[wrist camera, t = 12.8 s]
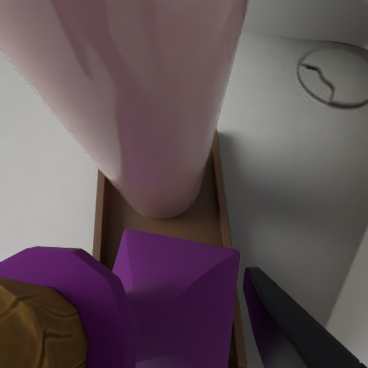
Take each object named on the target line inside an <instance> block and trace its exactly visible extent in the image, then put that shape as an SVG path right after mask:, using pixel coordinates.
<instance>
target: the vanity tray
mask: <svg viewBox="0 0 368 368" xmlns="http://www.w3.org/2000/svg"><path fill="white" fill-rule="evenodd" d="M126 229H134V230H139V231H144V232H149V233H154V234H159V235H164V236H170V237H175V238H180V239H185V240H190V241H195V242H200V243H205V244H210V245H215V246H220V247H225V248H230V249H232V243H231V236H230V228H229V220H228V213H227V205H226V197H225V190H224V182H223V174H222V167H221V159H220V151H219V144H218V136H217V128H216V131H215V135H214V139H213V143H212V147H211V151H210V154H209V158H208V162H207V166H206V170H205V174H204V178H203V181H202V185H201V189H200V193H199V195H198V197H197V199H196V201H195V202H194V203H193V205H192V206H191V207H190V208H189V209H188V210H186V211H185V212H183V213H182V214H180V215H178V216H175V217H172V218H168V219H153V218H149V217H146V216H143V215H141V214H140V213H138V212H136V211H135V210H134V209H133V208H132V207H131V206H130V205H129V204H128V203H127V201H126V200H125V199H124V198H123V197H122V195H121V194H120V193H119V192H118V191H117V190H116V188H115V187H114V186H113V185H112V184H111V182H110V181H109V180H108V179H107V178H106V177H105V175H104V174H103V173H102V172H101V171H100V169H99V168H98V181H97V196H96V211H95V226H94V241H93V256H92V257H94V258H95V259H96V260H98V261H99V262H100V263H101V264H103V265H104V266H105V267H106V268H108V269H109V270H110V271H113V267H114V264H115V260H116V257H117V253H118V250H119V246H120V243H121V239H122V236H123V232H124V231H125V230H126ZM228 368H247V359H246V351H245V343H244V336H243V328H242V320H241V313H240V305H239V297H238V289H237V287H236V296H235V306H234V315H233V324H232V333H231V342H230V351H229V360H228Z"/></svg>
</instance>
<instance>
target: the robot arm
mask: <svg viewBox="0 0 368 368" xmlns="http://www.w3.org/2000/svg"><path fill="white" fill-rule="evenodd" d="M243 290H244V295H245V299H246V304H247V308H248V312H249V317H250V321H251V326H252V330H253V334H254V338H255V341H256V345H257V348H258V351H259V354H260V357H261V360H262V363H263V366H264V368H367V367H366V366H365V365H364V364H363V363H360V362H359V360H358V359H357V358H356V357H355V356H354V355H353V354H352V353H351V352H350V351H349V350H347V349H346V348H345V347H344V346H343V345H342V344H341V343H340V342H339V341H338V340H336V338H335V337H333V336H332V335H331V334H330V333H329V332H328V331H327V330H326V329H325V328H324V327H323V326H321V325H320V324H319V323H318V322H317V321H316V320H315V319H314V318H313V317H312V316H311V315H310V314H308V313H307V312H306V311H305V310H304V309H303V308H302V307H301V306H300V305H299V304H298V303H297V302H295V301H294V300H293V299H292V298H291V297H290V296H289V295H288V294H287V293H286V292H285V291H284V290H282V289H281V288H280V287H279V286H278V285H277V284H276V283H275V282H274V281H273V280H272V279H270V278H269V277H268V276H267V275H266V274H265V273H264V272H263V271H262V270H261V269H260V268H258V267H247V268H246V269H245V273H244V281H243Z"/></svg>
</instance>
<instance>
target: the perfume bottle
mask: <svg viewBox="0 0 368 368" xmlns="http://www.w3.org/2000/svg"><path fill="white" fill-rule="evenodd" d="M239 260H240V253H239V251H237V250H235V249H230V248H225V247H220V246H215V245H210V244H205V243H200V242H195V241H190V240H185V239H180V238H175V237H170V236H164V235H159V234H154V233H149V232H144V231H139V230H134V229H126V230H125V231H124V232H123V236H122V239H121V243H120V246H119V250H118V253H117V257H116V260H115V264H114V267H113V271H110V270H109V269H108V268H106V267H105V266H104V265H103V264H101V263H100V262H99V261H98V260H96V259H95V258H94V257H92V256H91V255H90V254H89V253H87V252H86V251H85V250H83V249H78V248H59V247H40V246H36V247H32V248H27V249H25V250H23V251H21V252H19V253H17V254H15V255H13V256H11V257H9V258H7V259H5V260H4V261H2V262H0V368H228V360H229V351H230V342H231V333H232V324H233V315H234V306H235V296H236V287H237V278H238V269H239Z"/></svg>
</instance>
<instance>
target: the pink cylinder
mask: <svg viewBox="0 0 368 368" xmlns="http://www.w3.org/2000/svg"><path fill="white" fill-rule="evenodd" d="M248 4H249V0H0V52H1V53H2V55H3V56H4V57H5V58H6V59H7V60H8V62H9V63H10V64H11V65H12V66H13V68H14V69H15V70H16V71H17V72H18V73H19V75H20V76H21V77H22V78H23V79H24V81H25V82H26V83H27V84H28V85H29V86H30V88H31V89H32V90H33V91H34V92H35V94H36V95H37V96H38V97H39V98H40V100H41V101H42V102H43V103H44V104H45V105H46V107H47V108H48V109H49V110H50V111H51V113H52V114H53V115H54V116H55V117H56V118H57V120H58V121H59V122H60V123H61V124H62V126H63V127H64V128H65V129H66V130H67V132H68V133H69V134H70V135H71V136H72V137H73V139H74V140H75V141H76V142H77V143H78V145H79V146H80V147H81V148H82V149H83V150H84V152H85V153H86V154H87V155H88V156H89V158H90V159H91V160H92V161H93V162H94V163H95V165H96V166H97V167H98V168H99V169H100V171H101V172H102V173H103V174H104V175H105V177H106V178H107V179H108V180H109V181H110V182H111V184H112V185H113V186H114V187H115V188H116V190H117V191H118V192H119V193H120V194H121V195H122V197H123V198H124V199H125V200H126V201H127V203H128V204H129V205H130V206H131V207H132V208H133V209H134V210H135V211H136V212H138V213H140V214H141V215H143V216H146V217H149V218H153V219H168V218H172V217H175V216H178V215H180V214H182V213H183V212H185V211H186V210H188V209H189V208H190V207H191V206H192V205H193V203H194V202H195V201H196V199H197V197H198V195H199V193H200V189H201V185H202V181H203V178H204V174H205V170H206V166H207V162H208V158H209V154H210V151H211V147H212V143H213V139H214V135H215V131H216V127H217V124H218V120H219V116H220V112H221V108H222V104H223V100H224V97H225V93H226V89H227V85H228V81H229V77H230V74H231V70H232V66H233V62H234V58H235V54H236V50H237V47H238V43H239V39H240V35H241V31H242V27H243V23H244V19H245V16H246V12H247V8H248Z"/></svg>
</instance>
